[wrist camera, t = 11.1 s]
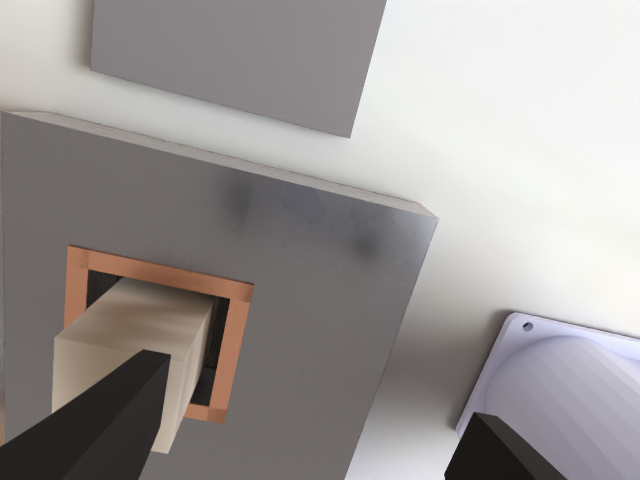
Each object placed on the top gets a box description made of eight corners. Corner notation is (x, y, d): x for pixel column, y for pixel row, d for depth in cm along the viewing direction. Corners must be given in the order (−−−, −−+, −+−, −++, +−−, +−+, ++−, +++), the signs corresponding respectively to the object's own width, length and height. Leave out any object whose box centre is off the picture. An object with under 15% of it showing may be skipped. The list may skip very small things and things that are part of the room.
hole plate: (420, 204, 17) (439, 219, 14) (330, 466, 22) (333, 511, 19) (49, 112, 15) (-1, 111, 13) (41, 418, 20) (3, 461, 17)
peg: (222, 282, 18) (182, 361, 12) (209, 352, 19) (167, 453, 13) (137, 264, 17) (54, 337, 12) (129, 337, 19) (51, 435, 13)
